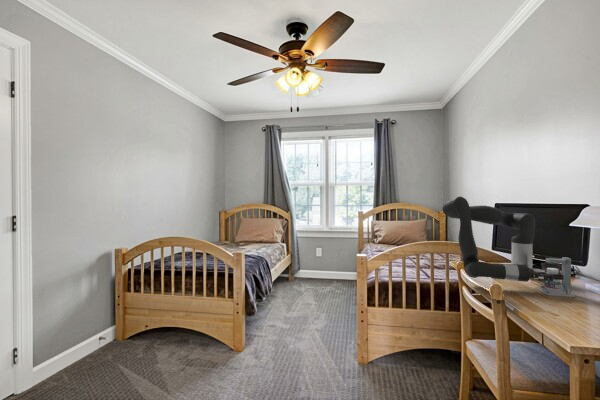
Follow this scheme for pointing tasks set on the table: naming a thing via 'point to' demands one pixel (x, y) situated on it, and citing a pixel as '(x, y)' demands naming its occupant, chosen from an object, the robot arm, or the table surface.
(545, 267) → the coffee cup
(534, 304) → the table surface
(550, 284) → the pill bottle
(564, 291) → the stand
